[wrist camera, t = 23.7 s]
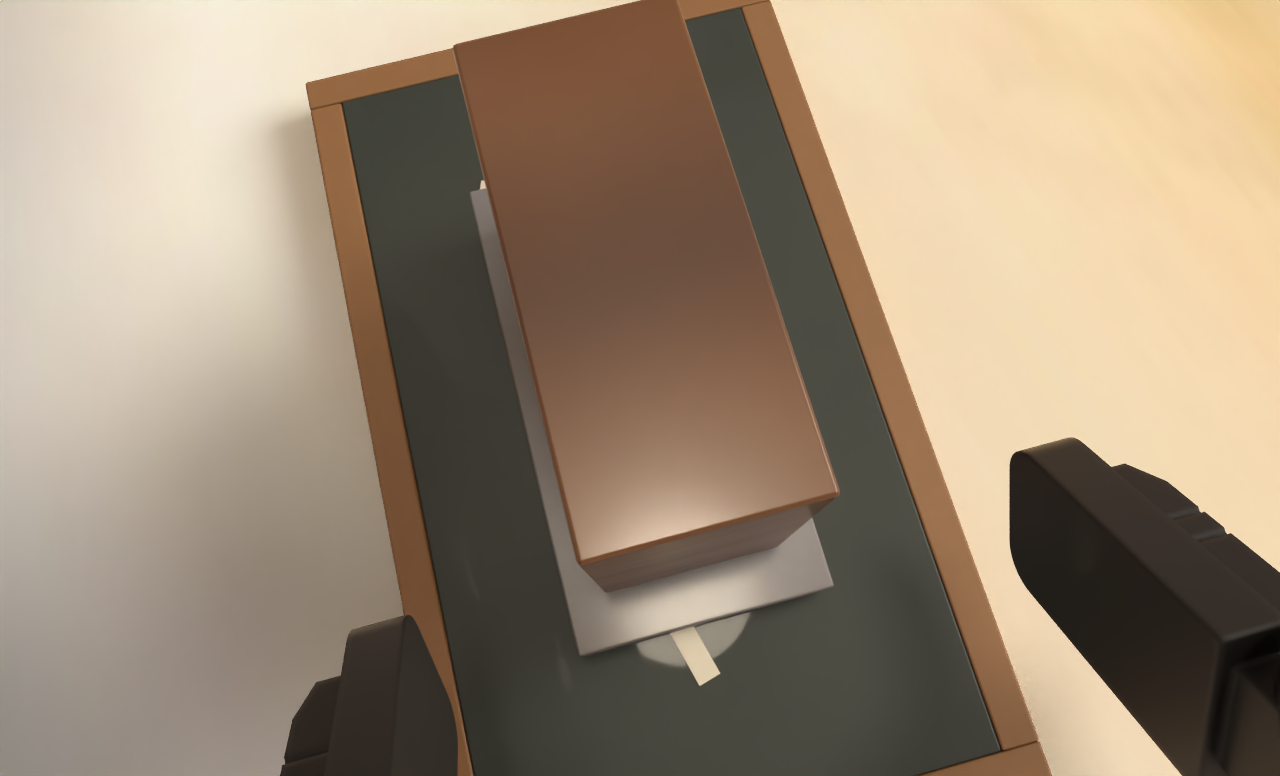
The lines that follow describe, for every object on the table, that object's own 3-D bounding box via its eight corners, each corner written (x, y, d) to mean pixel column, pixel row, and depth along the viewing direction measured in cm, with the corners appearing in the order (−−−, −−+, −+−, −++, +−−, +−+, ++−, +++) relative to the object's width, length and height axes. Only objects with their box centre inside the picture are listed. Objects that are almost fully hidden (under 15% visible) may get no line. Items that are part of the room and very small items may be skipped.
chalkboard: (477, 934, 18) (465, 954, 17) (321, 109, 24) (304, 81, 23) (1031, 774, 19) (1056, 782, 18) (756, 5, 25) (761, -27, 23)
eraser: (817, 592, 19) (925, 555, 11) (587, 656, 19) (537, 663, 11) (688, 181, 22) (704, -74, 14) (485, 231, 21) (388, 0, 14)
